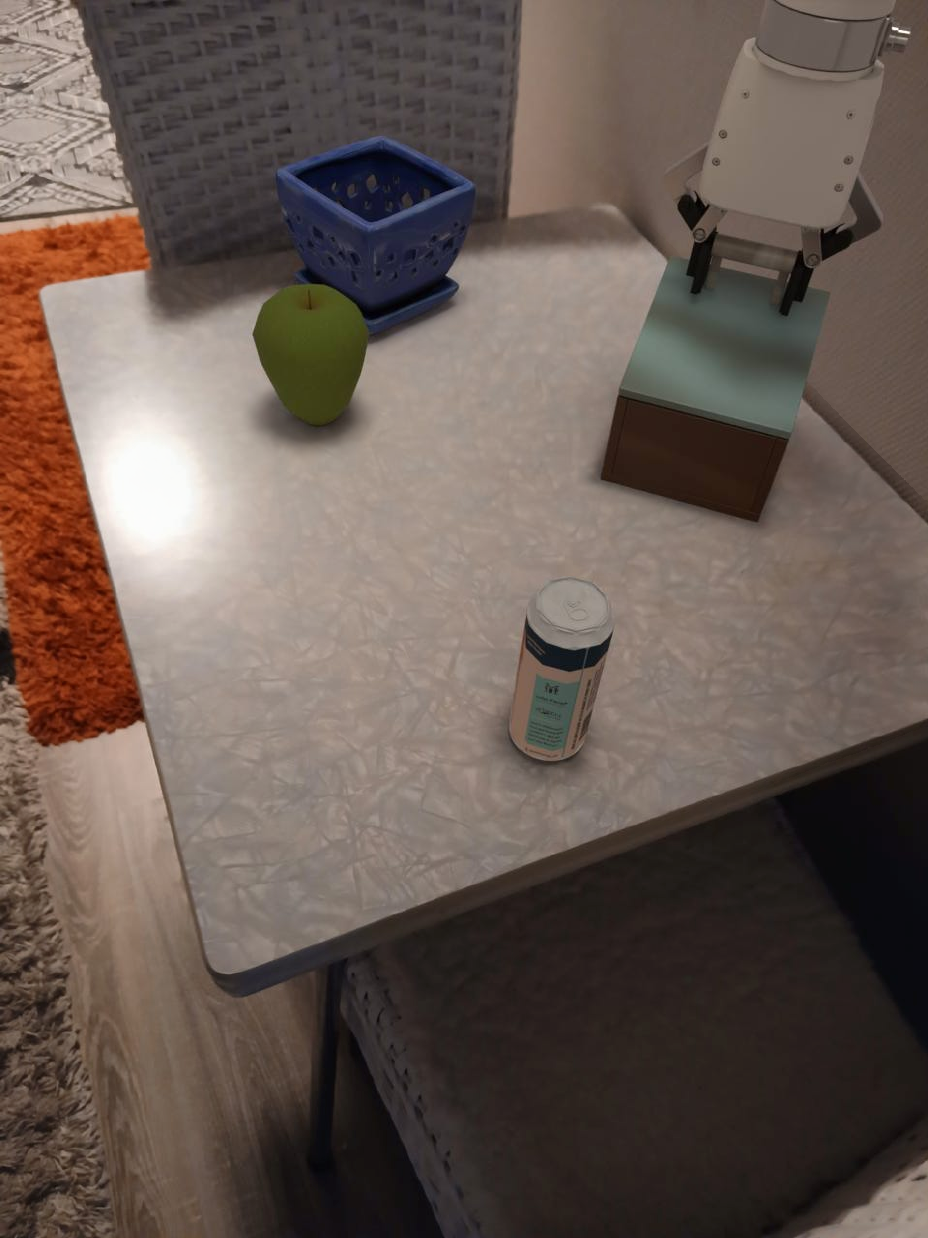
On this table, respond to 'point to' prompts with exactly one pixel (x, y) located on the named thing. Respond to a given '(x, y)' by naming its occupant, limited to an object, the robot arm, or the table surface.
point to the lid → (728, 341)
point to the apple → (312, 349)
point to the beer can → (560, 667)
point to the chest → (692, 458)
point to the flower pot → (377, 227)
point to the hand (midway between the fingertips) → (741, 294)
